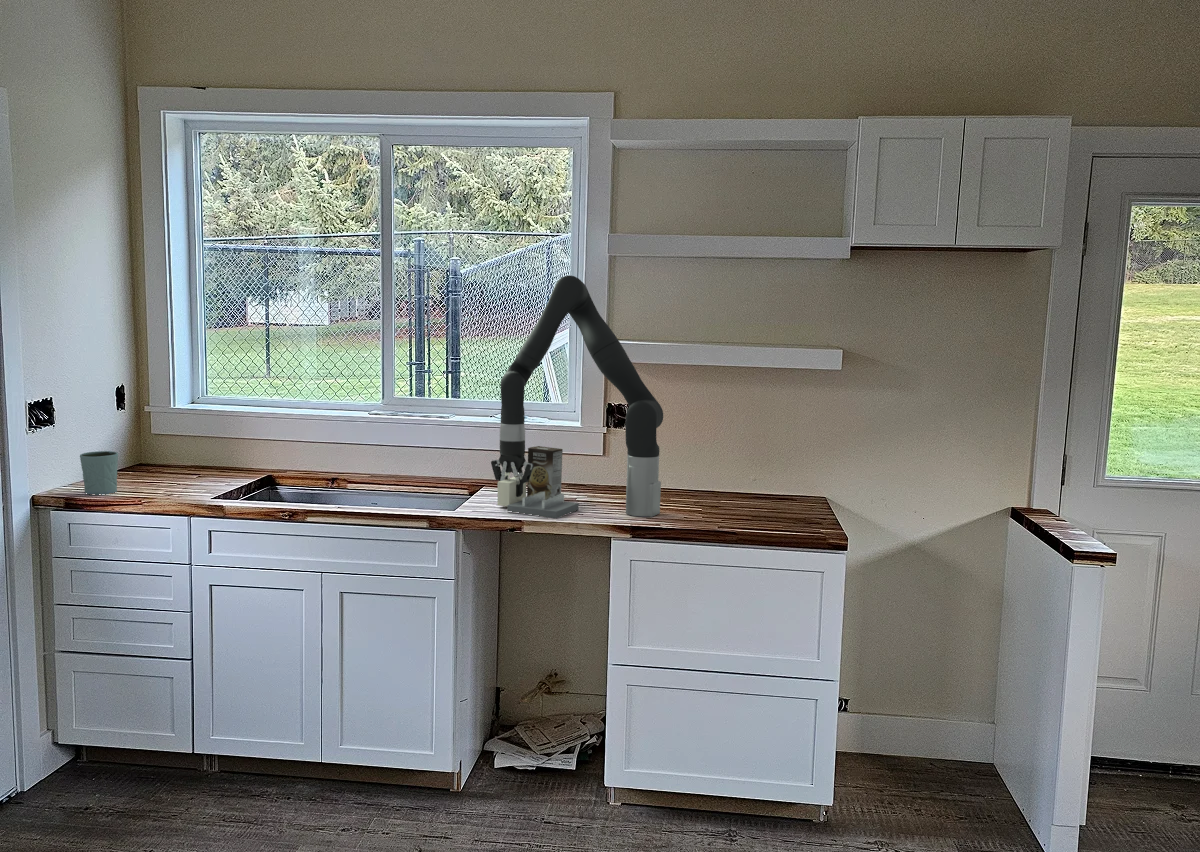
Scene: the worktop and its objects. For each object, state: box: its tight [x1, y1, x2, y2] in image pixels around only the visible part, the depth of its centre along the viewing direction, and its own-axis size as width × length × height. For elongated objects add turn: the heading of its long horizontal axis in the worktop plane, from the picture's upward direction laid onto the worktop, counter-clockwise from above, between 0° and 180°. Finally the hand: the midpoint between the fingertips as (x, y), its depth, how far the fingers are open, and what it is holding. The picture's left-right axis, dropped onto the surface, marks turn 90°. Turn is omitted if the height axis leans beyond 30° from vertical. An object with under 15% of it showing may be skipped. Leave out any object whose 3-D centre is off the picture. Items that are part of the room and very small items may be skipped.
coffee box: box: [526, 445, 563, 499], centre depth 296 cm, size 9×6×16 cm
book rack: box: [506, 491, 580, 519], centre depth 280 cm, size 16×14×4 cm
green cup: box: [79, 450, 119, 496], centre depth 289 cm, size 10×10×12 cm
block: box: [497, 476, 527, 507], centre depth 287 cm, size 4×10×7 cm, turn 155°
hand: (511, 495), depth 287 cm, fingers closed on block, 4 cm apart
